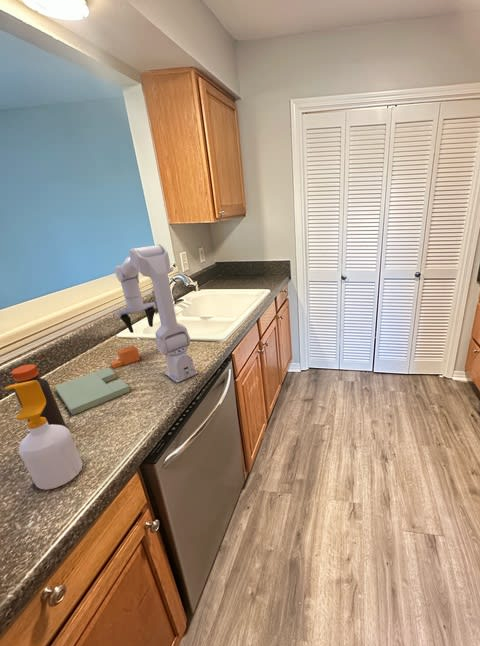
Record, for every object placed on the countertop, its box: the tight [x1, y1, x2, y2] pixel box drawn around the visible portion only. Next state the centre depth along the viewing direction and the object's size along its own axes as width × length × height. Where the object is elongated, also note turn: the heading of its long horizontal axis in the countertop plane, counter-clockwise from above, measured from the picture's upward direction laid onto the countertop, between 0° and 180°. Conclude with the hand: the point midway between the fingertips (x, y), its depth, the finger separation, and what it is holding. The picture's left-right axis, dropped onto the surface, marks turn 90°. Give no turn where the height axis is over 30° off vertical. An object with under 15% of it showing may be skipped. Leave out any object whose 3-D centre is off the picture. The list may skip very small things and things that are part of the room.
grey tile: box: [54, 367, 131, 416], centre depth 106 cm, size 20×16×2 cm
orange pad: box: [110, 345, 141, 369], centre depth 124 cm, size 4×10×5 cm, turn 136°
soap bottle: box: [3, 380, 84, 490], centre depth 69 cm, size 9×9×25 cm
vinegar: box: [10, 363, 67, 428], centre depth 84 cm, size 7×7×20 cm
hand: (141, 329), depth 129 cm, fingers open, 7 cm apart
